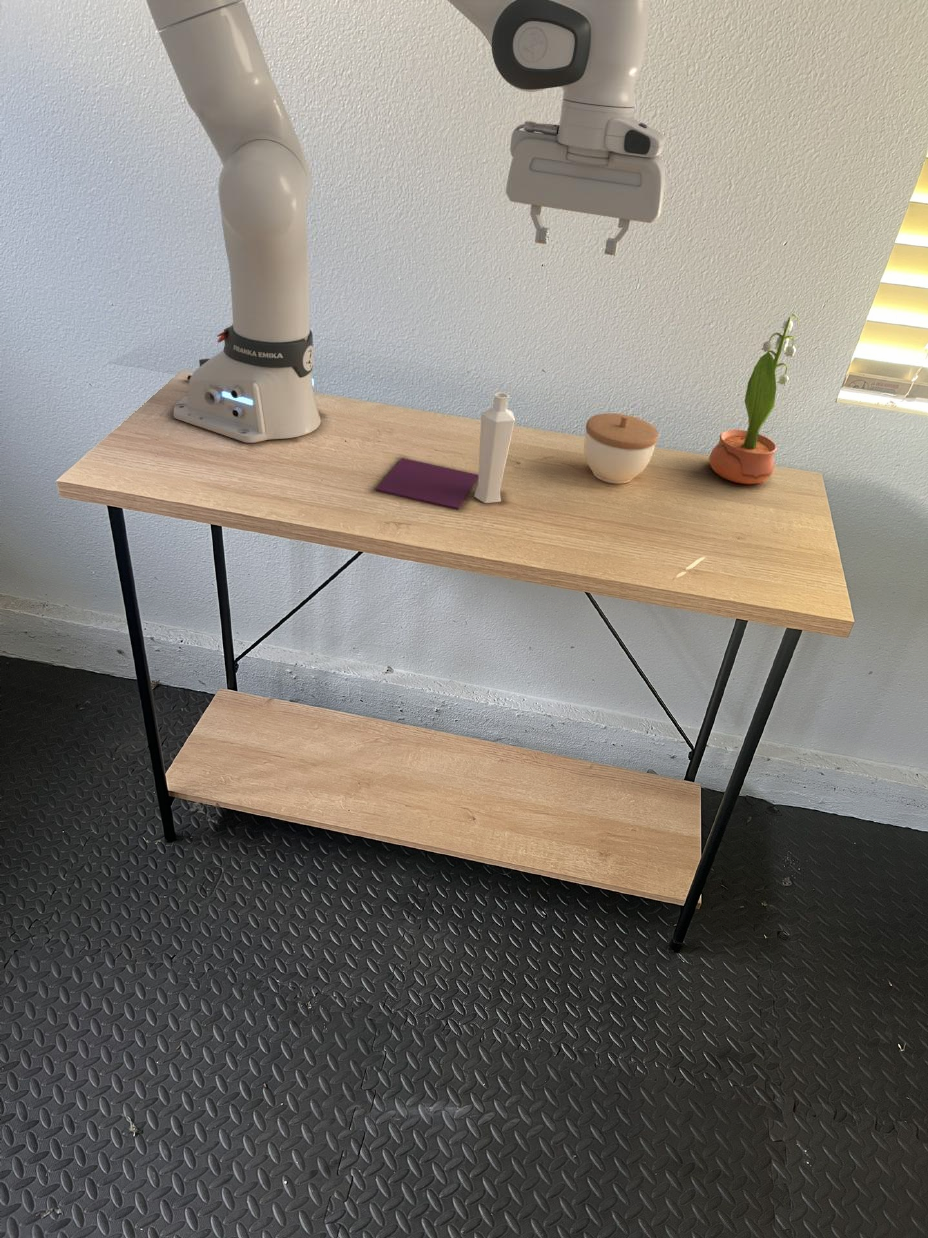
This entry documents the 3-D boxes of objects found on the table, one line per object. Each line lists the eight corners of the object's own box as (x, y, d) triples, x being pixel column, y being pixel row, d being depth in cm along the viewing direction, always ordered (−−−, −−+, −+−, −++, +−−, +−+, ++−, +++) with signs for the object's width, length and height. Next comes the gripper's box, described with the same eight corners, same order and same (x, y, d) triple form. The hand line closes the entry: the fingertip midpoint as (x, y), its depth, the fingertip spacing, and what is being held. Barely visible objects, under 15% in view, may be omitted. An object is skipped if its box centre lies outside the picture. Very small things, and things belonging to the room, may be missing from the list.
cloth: (375, 490, 118) (375, 488, 118) (402, 459, 127) (402, 457, 127) (457, 509, 116) (458, 507, 116) (478, 476, 125) (479, 474, 125)
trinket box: (646, 496, 125) (661, 437, 120) (574, 483, 127) (586, 424, 121) (647, 466, 134) (661, 409, 129) (580, 454, 135) (591, 397, 130)
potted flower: (713, 450, 142) (758, 297, 127) (773, 466, 139) (827, 311, 125) (701, 478, 133) (749, 315, 118) (766, 495, 130) (823, 331, 115)
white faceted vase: (494, 508, 118) (509, 405, 109) (467, 497, 119) (479, 395, 111) (510, 496, 121) (525, 395, 112) (484, 486, 123) (497, 386, 114)
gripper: (507, 120, 105) (494, 240, 113) (672, 143, 101) (647, 265, 109) (519, 116, 110) (506, 231, 118) (677, 138, 106) (653, 255, 114)
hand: (575, 248), depth 113 cm, fingers open, 8 cm apart
